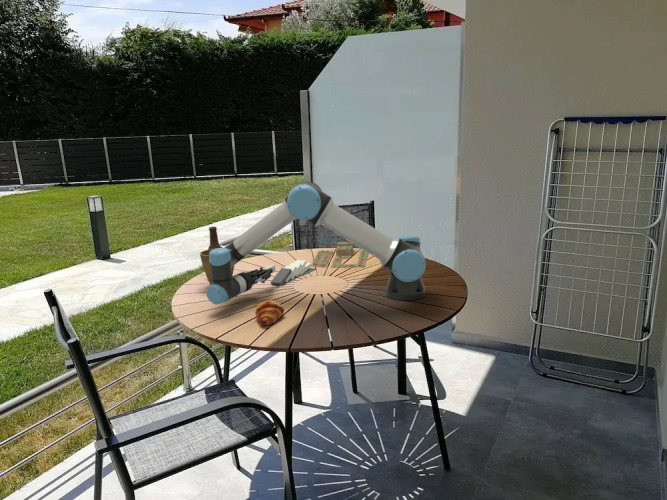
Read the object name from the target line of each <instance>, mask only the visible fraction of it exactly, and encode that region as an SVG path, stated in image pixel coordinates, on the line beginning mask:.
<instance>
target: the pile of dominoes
mask: <svg viewBox="0 0 667 500" xmlns="http://www.w3.org/2000/svg"><path fill="white" fill-rule="evenodd" d="M353 252H354V244H353V243H351V242H349V241H338V242H337V246H336V249H335V256H334V258H333V260H332V263H331V265H330V268H331V269H336V268H341V269H342V268H343V269H345V268H346V269H347V268H349V269H350V268H352V267H354V268H357V267H361V268H365V267H364V266H366V263H367V260H366V259H368V256H367V254H369V253H368V252H366V251H364V250H363V249H361V250H360V251H359V256H358V260H357V262H356V264H355V263H351V264H349V263H348V264H341V263H342V260H350V259H351V258H350V257H352V256H353ZM332 254H333V255H334V251H333V250H319V251H317V253H316V255H315V257H314V259H313V260H312V263H311V267H313V268H314V267H316V268H326V267H328V264H329V263H330V260H331V258H332V257H331V256H333V255H332ZM351 255H352V256H351ZM365 262H366V263H365Z"/></svg>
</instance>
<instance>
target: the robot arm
mask: <svg viewBox="0 0 667 500" xmlns="http://www.w3.org/2000/svg"><path fill="white" fill-rule="evenodd" d="M296 219H297V220H299V221H306V222H308V223H309V224H311V225H313V226H314V227H318V226H323V227H324V228H326V229H327V230H329V231H331V232H332V233H335V234H336V235H338V236H339V237H341V238H342V239H345V240H346V241H347V242H351V243H353V246H354V245H355V246H356V247H358V248H359V249H361V250H364V251H366V252H368V254H369V255H371V256H373V257H375V258H376V259H378V260H379V261H380V266H381V267H383V268H385V269H387V271H389V276H388V277H389V278H388V280H387V284H386V288H385V296H387V298H389V299H392V300H397V301H414V300H415V301H416V300H419V299H421V298H423V297H425V296H426V286H425V285H424V281H423V279H422V276H423V275H424V273H425V271H426V267H427V266H426V264H427V263H426V257H425V256H424V254H423V253H422V250H421V239H420V237H419V236H417V235H397V236H396V235H395V236H391V237H389V236H388V235H386V234H385V233H383V232H382V231H380V230H378V229H376V228H375V227H374V226H371V225H370V224H368V223H366V222H365V221H363V220H362V219H360V218H359V217H356V216H355V215H353V214H351V213H349V211H347V210H345V209H343V208H341V206H340V207H339V205H337V204H335V202H334V199H333V197H331V196H330V195H328V194H327V193H325V192H323V190H322V188H321V187H320V185H318V184H317V183H315V182H313V181H302V182H300V183H299V184H297V185H295V186H294V187H293V188H292V189H291V190H290V192H289V194H288V195H287V196H286V197H284V198H283V202H282V203H281V204H280V205H278V206H277V207H275V208H274V209H273V210H271V211H270V212H269V213H267V215H265V216H264V217H263V218H262V219H260V220H259V221H257V222H256V223H255V224H254V225H252V226H251V227H250V228H248V229H247V230H246V231H244V232H243V233H242V234H241V235H239V236H238V237H236V238H235V239H234V240H233V241H232V242H230V243H229V244H228V245H226V246H224V247H222V248H217V249H214V250H211V251H210V252H209V262H210V269H211V277H212V285H209V286H208V287H207V289H206V293H205V294H206V297H207V300H209V302H210V303H212V304H213V305H220V304H223V303H226V302H228V301H229V300H231V299H233V298H237V297H238V296H240V295H241V294H243V293H246V292H248V291H250V290H252V288H253V286H254V285H256V284H258V283H259V282H260V283H261V284H265V283H266V281H267V280H269V279H270V278H271V277H272V274H273V273H275V272H276V265H275V264H271V265H269V266H267V267H263V266H262V267H260V268H259V269H258V268H256V269H253V270H250V271H246V272H245V271H243V272H239V273H237V274H233V275H232V267H233V266H234V267H235V265H236V264H237V263H239V262H240V261H241V260H244V258H245V257H247V256H248V255H250V254H251V253H252V252H254V251H255V250H256V249H257V248H259V247H260V246H261V245H263V244H264V243H265V242H267V241H268V240H269V239H270V238H272V237H273V236H274V235H277V233H279V232H280V231H281V230H282V229H284V228H285V227H287V226H288V225H289V224H290V223H292V222H293V221H294V220H296Z"/></svg>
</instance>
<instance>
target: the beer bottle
mask: <svg viewBox="0 0 667 500" xmlns="http://www.w3.org/2000/svg"><path fill="white" fill-rule="evenodd" d="M217 230H218V229H217V226H209V228H208V231H209V246H208V248H207V250H209V249H215V248H223V247H222V246H221V244H220V242H219V238H218V231H217Z"/></svg>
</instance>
